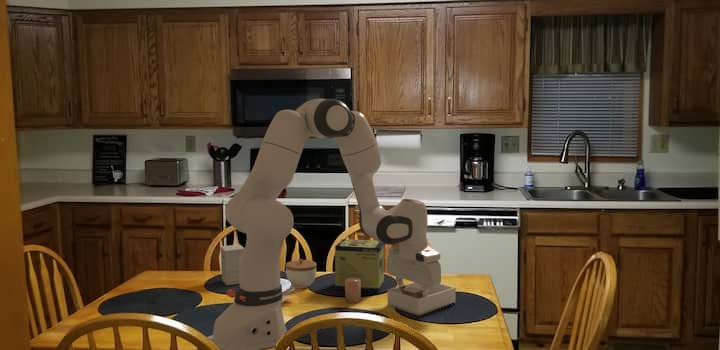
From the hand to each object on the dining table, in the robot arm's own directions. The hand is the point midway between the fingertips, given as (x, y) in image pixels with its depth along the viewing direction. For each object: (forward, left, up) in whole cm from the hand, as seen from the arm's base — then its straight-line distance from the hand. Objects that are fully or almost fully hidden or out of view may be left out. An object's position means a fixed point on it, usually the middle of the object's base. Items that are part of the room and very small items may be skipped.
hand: (412, 294), depth 200 cm
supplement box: (-27, +62, -4) cm, 68 cm away
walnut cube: (0, 0, -4) cm, 4 cm away
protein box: (+2, +27, -4) cm, 27 cm away
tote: (+4, 0, -4) cm, 6 cm away
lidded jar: (-12, +42, -4) cm, 44 cm away
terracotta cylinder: (-10, +17, -4) cm, 20 cm away
